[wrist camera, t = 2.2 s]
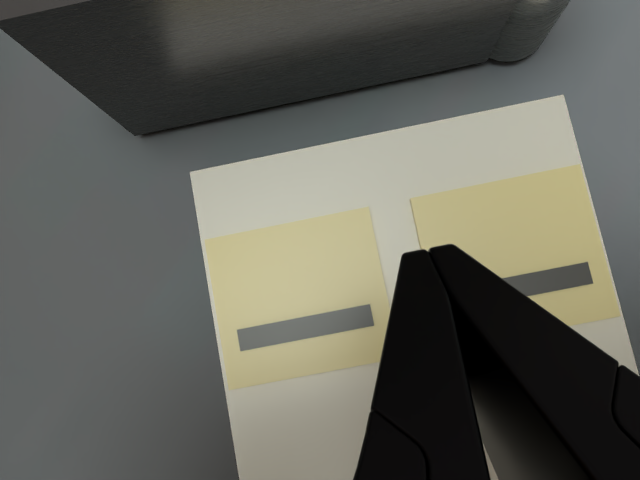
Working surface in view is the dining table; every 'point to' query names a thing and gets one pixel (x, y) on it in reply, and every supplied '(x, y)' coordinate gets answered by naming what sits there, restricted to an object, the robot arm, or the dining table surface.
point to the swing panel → (260, 48)
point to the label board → (383, 265)
